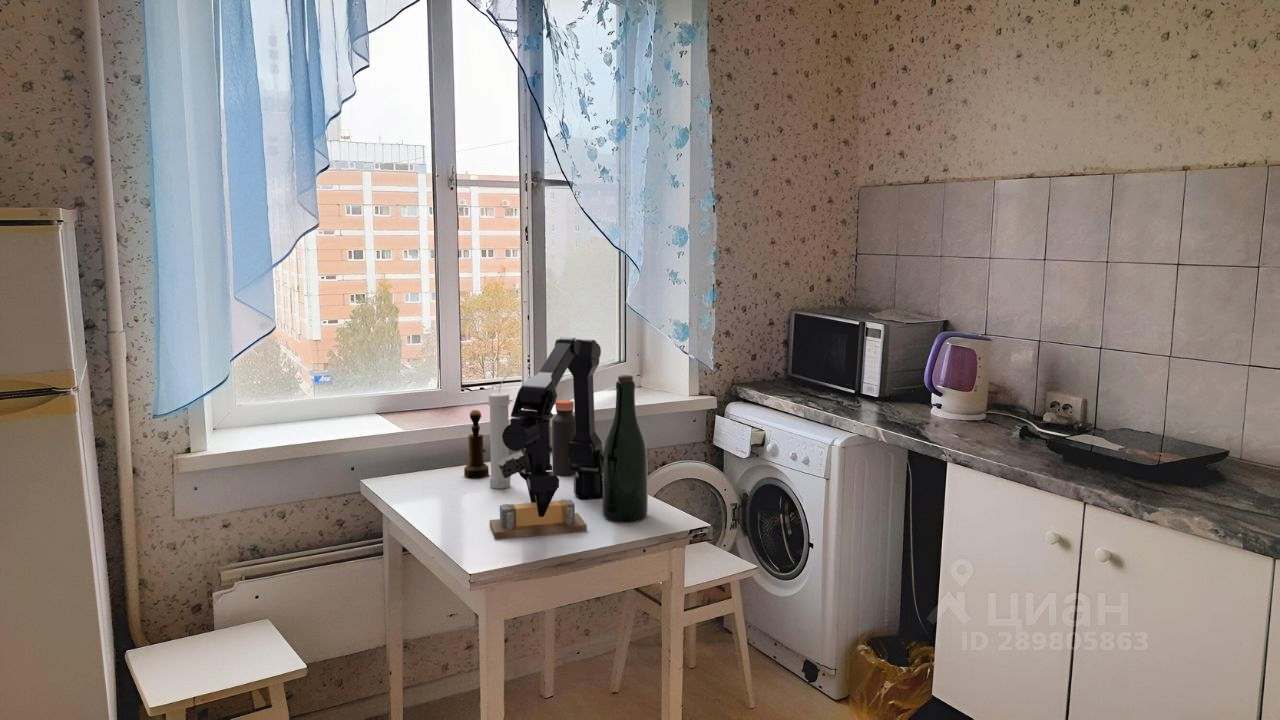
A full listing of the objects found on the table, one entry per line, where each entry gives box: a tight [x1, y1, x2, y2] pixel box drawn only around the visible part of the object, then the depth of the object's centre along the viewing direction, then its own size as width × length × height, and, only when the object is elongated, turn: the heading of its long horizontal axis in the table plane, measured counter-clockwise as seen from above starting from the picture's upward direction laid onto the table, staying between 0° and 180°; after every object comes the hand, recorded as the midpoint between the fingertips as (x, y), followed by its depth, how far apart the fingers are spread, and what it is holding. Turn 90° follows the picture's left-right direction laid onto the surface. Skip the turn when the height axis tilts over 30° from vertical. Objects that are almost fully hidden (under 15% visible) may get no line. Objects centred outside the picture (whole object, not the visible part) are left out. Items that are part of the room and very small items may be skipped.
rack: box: [489, 503, 588, 540], centre depth 195 cm, size 20×9×5 cm, turn 107°
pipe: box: [487, 371, 513, 490], centre depth 227 cm, size 6×6×30 cm
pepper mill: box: [463, 409, 490, 479], centre depth 239 cm, size 7×6×18 cm
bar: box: [499, 499, 576, 528], centre depth 195 cm, size 16×4×4 cm, turn 107°
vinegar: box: [551, 399, 576, 477], centre depth 242 cm, size 7×7×20 cm
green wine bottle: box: [602, 374, 649, 523], centre depth 203 cm, size 10×10×33 cm
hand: (537, 510), depth 195 cm, fingers open, 9 cm apart
